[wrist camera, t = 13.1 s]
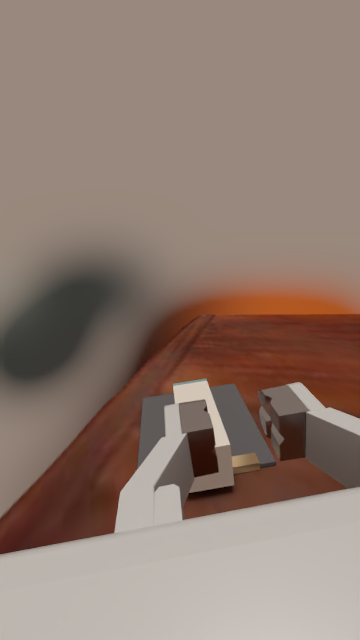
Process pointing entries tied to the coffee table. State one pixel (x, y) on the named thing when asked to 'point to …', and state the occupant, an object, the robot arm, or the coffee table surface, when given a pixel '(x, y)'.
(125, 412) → the coffee table surface
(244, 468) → the oak stop strip
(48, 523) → the coffee table surface
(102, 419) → the coffee table surface
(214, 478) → the cream block
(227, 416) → the charcoal rubber mat
